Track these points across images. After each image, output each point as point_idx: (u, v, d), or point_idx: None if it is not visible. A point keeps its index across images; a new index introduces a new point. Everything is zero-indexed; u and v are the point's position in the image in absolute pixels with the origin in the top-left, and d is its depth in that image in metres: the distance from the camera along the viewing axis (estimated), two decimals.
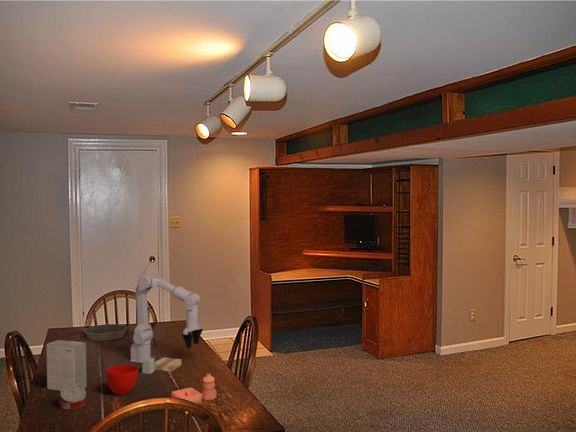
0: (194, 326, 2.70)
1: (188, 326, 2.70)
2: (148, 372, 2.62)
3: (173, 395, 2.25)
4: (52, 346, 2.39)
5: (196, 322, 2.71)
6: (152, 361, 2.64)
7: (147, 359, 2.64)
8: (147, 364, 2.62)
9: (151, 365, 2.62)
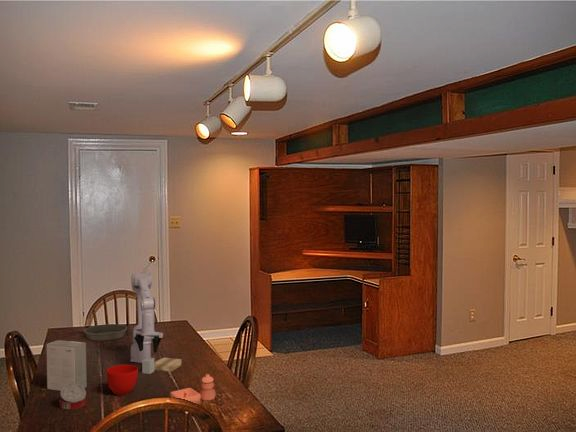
0: (142, 331, 2.62)
1: None
2: (148, 372, 2.62)
3: (172, 395, 2.25)
4: (52, 346, 2.39)
5: (143, 327, 2.61)
6: (152, 361, 2.64)
7: (147, 359, 2.64)
8: (147, 364, 2.62)
9: (151, 365, 2.62)
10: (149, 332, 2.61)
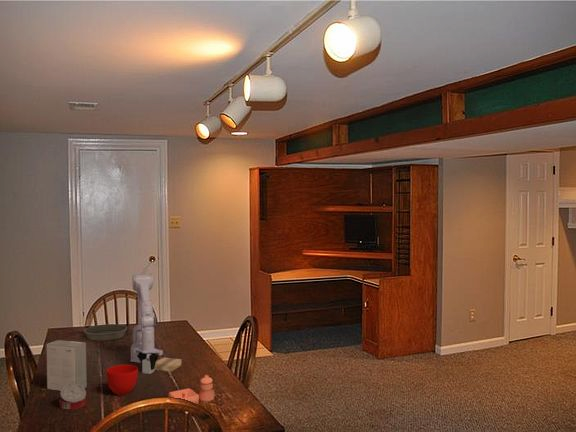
0: (142, 348, 2.62)
1: None
2: (148, 372, 2.62)
3: (170, 396, 2.24)
4: (52, 346, 2.39)
5: (143, 345, 2.61)
6: None
7: (147, 359, 2.64)
8: (147, 364, 2.62)
9: None
10: (149, 350, 2.61)
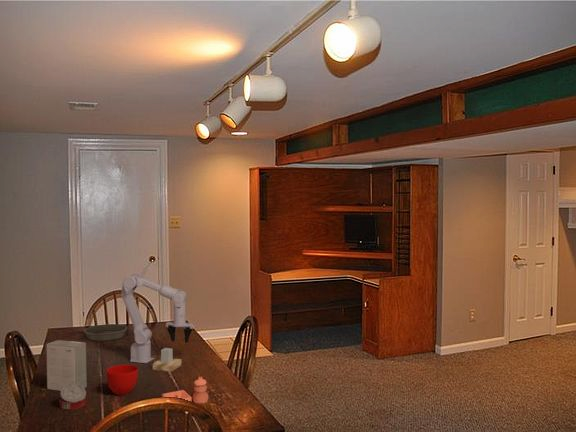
0: (174, 322, 2.79)
1: None
2: (167, 361, 2.68)
3: (163, 397, 2.23)
4: (52, 346, 2.39)
5: (175, 319, 2.78)
6: (170, 351, 2.70)
7: (166, 349, 2.71)
8: (166, 353, 2.68)
9: (169, 354, 2.69)
10: (181, 323, 2.78)
